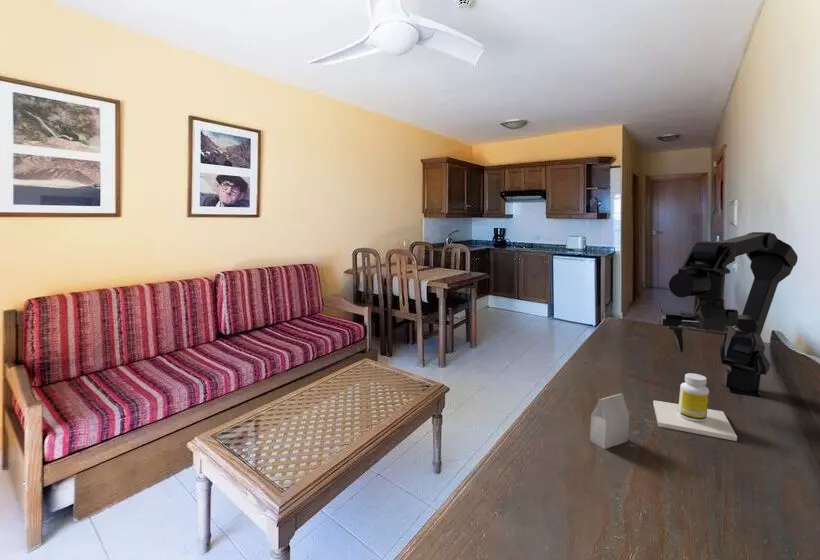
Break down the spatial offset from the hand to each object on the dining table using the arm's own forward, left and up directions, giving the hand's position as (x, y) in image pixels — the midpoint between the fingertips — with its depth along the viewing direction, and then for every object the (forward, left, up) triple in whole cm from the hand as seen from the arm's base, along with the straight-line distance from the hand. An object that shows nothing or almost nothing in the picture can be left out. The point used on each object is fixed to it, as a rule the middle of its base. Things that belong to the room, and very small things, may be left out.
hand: (703, 354), depth 98 cm
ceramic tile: (+3, +12, -13) cm, 18 cm away
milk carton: (+20, +29, -13) cm, 38 cm away
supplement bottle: (+3, +12, -12) cm, 17 cm away
